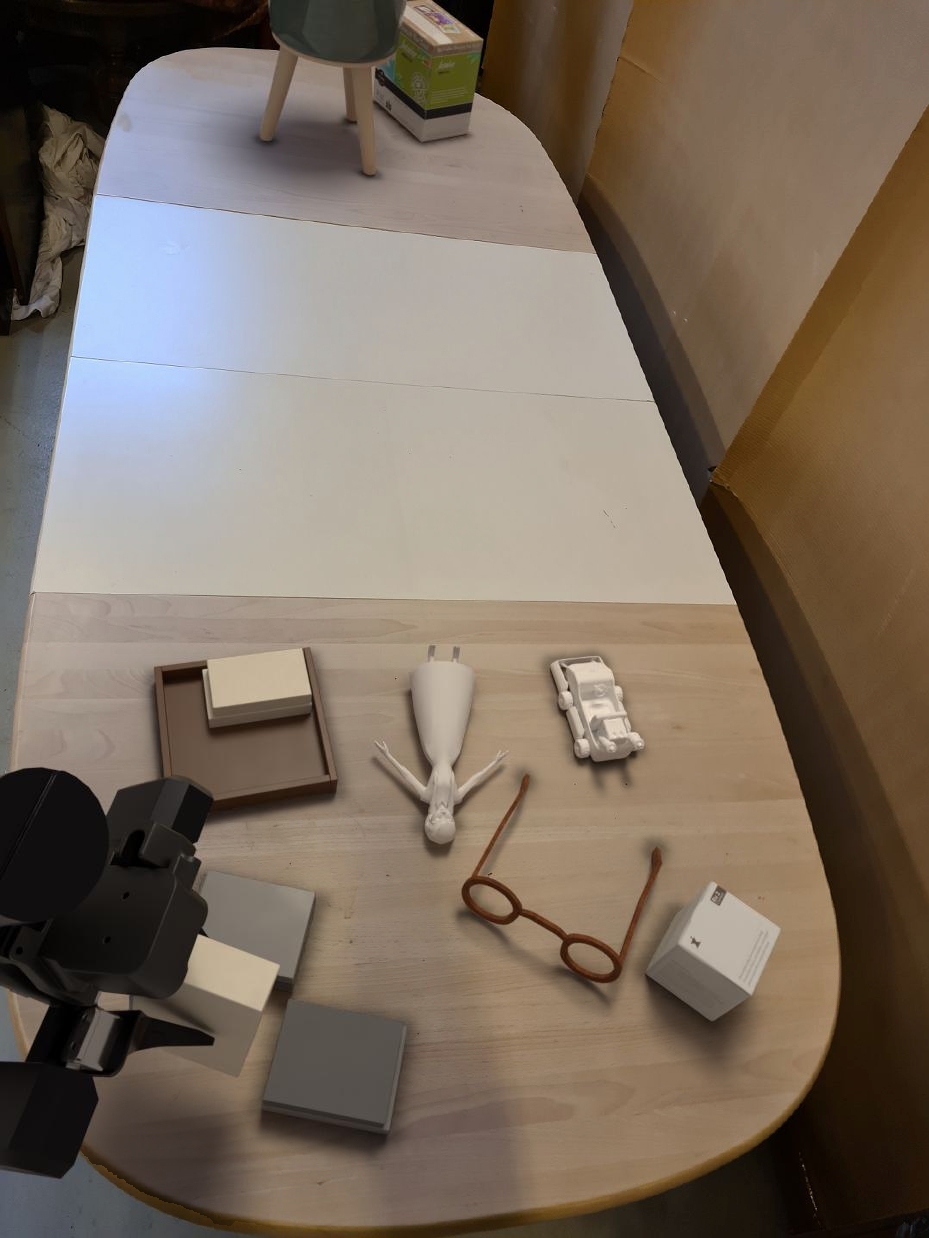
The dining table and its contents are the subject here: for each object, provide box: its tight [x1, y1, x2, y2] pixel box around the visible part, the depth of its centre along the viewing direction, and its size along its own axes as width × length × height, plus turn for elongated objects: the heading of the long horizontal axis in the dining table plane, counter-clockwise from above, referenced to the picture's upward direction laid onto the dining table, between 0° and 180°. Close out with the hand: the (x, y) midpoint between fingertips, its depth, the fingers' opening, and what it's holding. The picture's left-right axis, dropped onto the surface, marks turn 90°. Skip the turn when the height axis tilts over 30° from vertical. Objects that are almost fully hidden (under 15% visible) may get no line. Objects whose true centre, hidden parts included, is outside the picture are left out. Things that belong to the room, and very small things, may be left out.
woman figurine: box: [373, 643, 509, 845], centre depth 75 cm, size 12×4×18 cm
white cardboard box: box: [645, 881, 782, 1022], centre depth 66 cm, size 6×6×7 cm
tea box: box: [372, 0, 484, 143], centre depth 142 cm, size 15×10×15 cm
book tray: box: [153, 646, 339, 814], centre depth 74 cm, size 13×13×2 cm
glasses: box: [460, 773, 663, 984], centre depth 70 cm, size 13×13×5 cm
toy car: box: [549, 655, 645, 763], centre depth 80 cm, size 6×12×4 cm, turn 13°
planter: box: [259, 0, 408, 176], centre depth 124 cm, size 22×22×33 cm
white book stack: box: [202, 647, 312, 728], centre depth 75 cm, size 8×5×3 cm, turn 106°
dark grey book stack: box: [261, 998, 409, 1135], centre depth 59 cm, size 8×6×3 cm
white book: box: [128, 934, 280, 1079], centre depth 49 cm, size 7×2×13 cm, turn 74°
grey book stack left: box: [197, 869, 317, 993], centre depth 64 cm, size 8×6×3 cm
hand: (220, 1009), depth 49 cm, fingers closed on white book, 3 cm apart
